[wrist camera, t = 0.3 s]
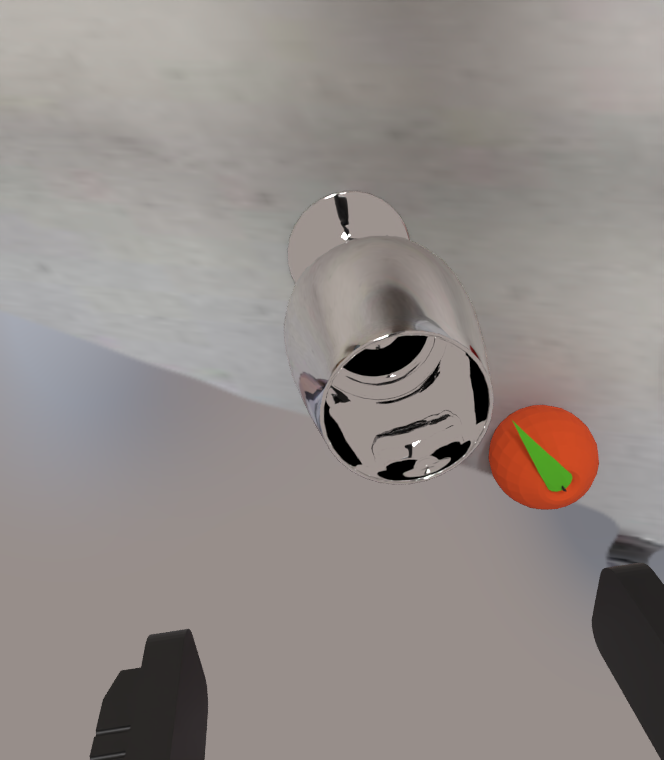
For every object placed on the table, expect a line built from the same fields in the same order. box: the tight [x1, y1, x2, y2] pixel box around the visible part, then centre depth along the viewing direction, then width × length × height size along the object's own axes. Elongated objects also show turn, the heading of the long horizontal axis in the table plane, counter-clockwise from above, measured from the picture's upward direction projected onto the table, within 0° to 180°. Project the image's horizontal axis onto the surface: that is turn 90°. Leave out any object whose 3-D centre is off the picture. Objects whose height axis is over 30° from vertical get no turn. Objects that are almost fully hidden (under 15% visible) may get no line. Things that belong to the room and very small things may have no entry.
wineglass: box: [284, 191, 494, 484], centre depth 28 cm, size 8×8×20 cm
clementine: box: [489, 405, 599, 509], centre depth 40 cm, size 8×7×7 cm
